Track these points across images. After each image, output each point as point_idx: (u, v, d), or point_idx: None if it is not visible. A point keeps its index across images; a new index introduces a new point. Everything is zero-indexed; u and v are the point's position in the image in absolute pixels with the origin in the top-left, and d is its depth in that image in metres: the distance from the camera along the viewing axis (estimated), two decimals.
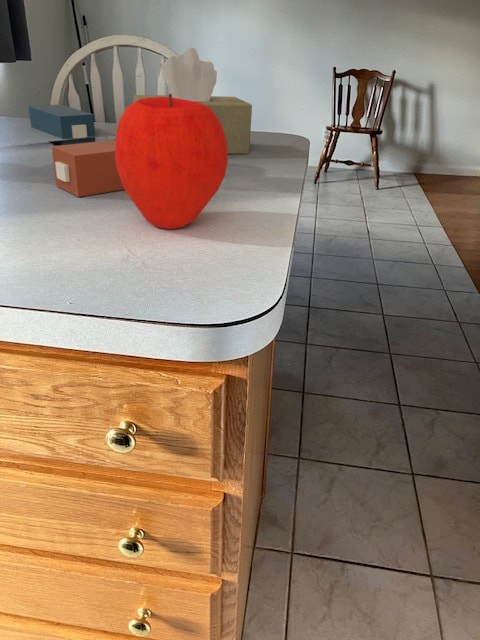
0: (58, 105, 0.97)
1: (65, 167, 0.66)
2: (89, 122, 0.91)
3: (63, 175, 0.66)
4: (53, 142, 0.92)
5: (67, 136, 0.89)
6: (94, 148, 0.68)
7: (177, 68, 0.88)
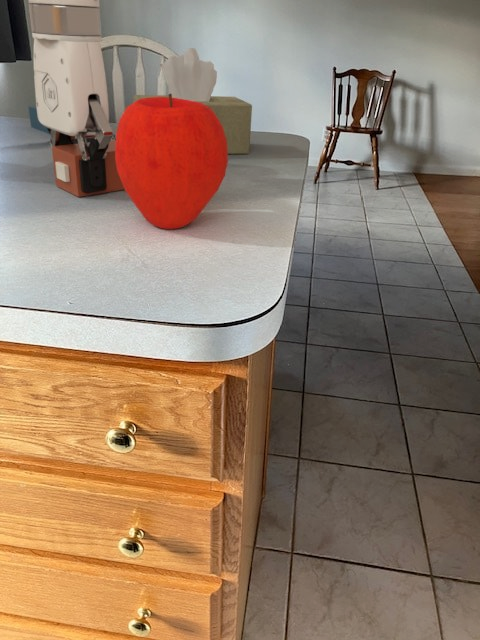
0: None
1: (65, 167, 0.66)
2: None
3: (63, 175, 0.66)
4: None
5: None
6: None
7: (177, 68, 0.88)
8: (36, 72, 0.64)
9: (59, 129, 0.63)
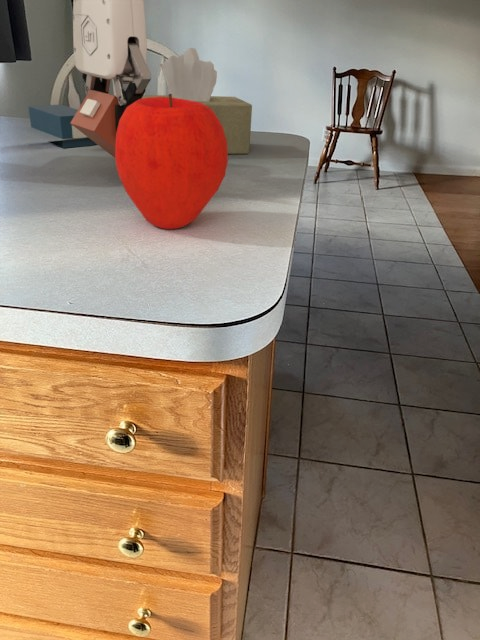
0: (58, 105, 0.97)
1: (97, 103, 0.65)
2: None
3: (90, 109, 0.65)
4: (53, 142, 0.92)
5: (67, 136, 0.89)
6: None
7: (177, 68, 0.88)
8: (75, 16, 0.64)
9: (97, 73, 0.64)
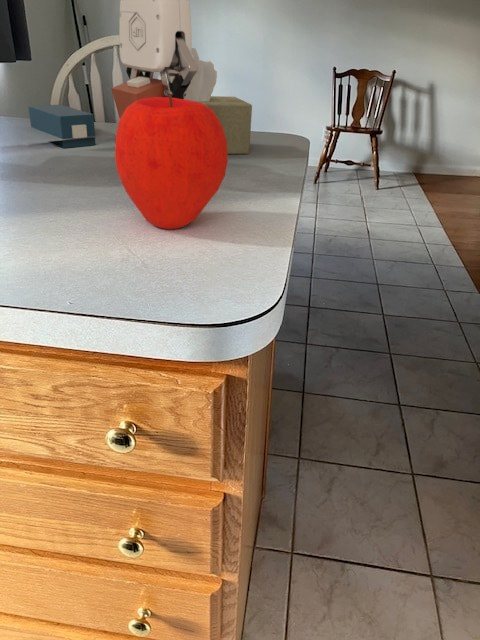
0: (58, 105, 0.97)
1: (148, 80, 0.69)
2: (89, 122, 0.91)
3: (139, 80, 0.68)
4: (53, 142, 0.92)
5: (67, 136, 0.89)
6: None
7: None
8: (123, 13, 0.68)
9: (144, 66, 0.67)
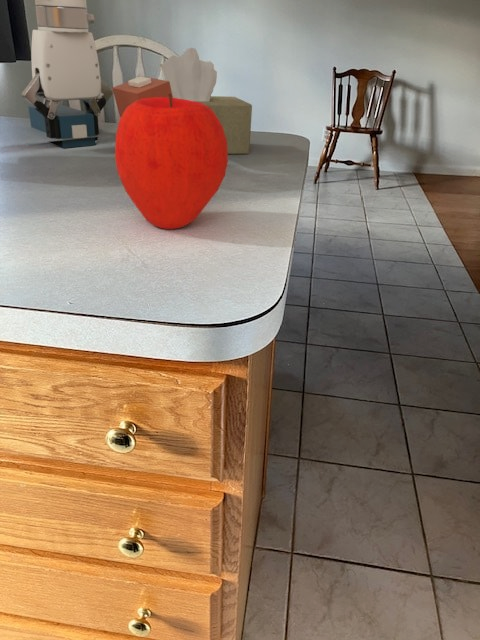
0: (58, 105, 0.97)
1: (149, 80, 0.69)
2: (89, 122, 0.91)
3: (141, 80, 0.68)
4: None
5: (67, 136, 0.89)
6: None
7: (177, 68, 0.88)
8: None
9: None
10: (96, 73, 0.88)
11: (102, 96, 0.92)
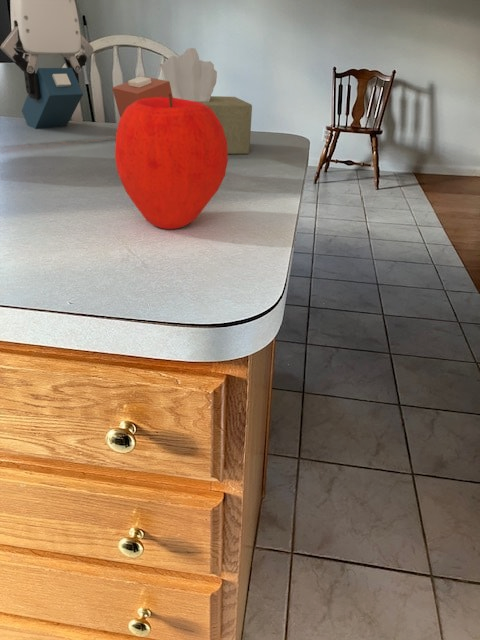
0: None
1: (149, 80, 0.69)
2: (70, 74, 0.91)
3: (141, 80, 0.68)
4: (43, 106, 0.90)
5: (50, 85, 0.88)
6: None
7: (177, 68, 0.88)
8: None
9: None
10: (75, 28, 0.89)
11: (82, 53, 0.93)
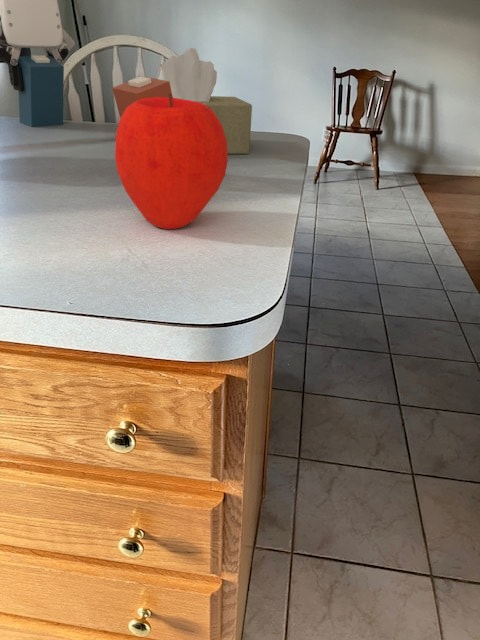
0: None
1: (149, 80, 0.69)
2: (49, 58, 0.95)
3: (141, 80, 0.68)
4: (29, 87, 0.92)
5: (30, 62, 0.91)
6: None
7: (177, 68, 0.88)
8: None
9: None
10: (57, 22, 0.93)
11: (64, 46, 0.97)
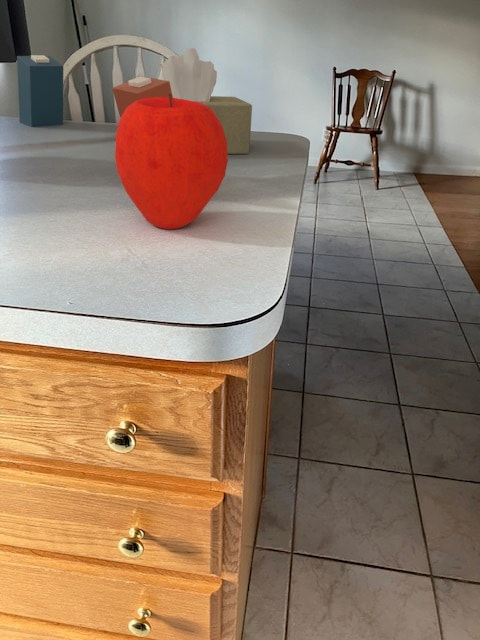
0: None
1: (149, 80, 0.69)
2: (48, 58, 0.95)
3: (141, 80, 0.68)
4: (29, 86, 0.92)
5: (30, 62, 0.91)
6: None
7: (177, 68, 0.88)
8: None
9: None
10: None
11: None
